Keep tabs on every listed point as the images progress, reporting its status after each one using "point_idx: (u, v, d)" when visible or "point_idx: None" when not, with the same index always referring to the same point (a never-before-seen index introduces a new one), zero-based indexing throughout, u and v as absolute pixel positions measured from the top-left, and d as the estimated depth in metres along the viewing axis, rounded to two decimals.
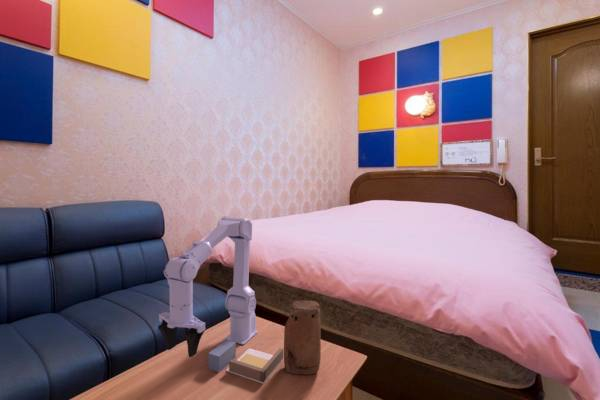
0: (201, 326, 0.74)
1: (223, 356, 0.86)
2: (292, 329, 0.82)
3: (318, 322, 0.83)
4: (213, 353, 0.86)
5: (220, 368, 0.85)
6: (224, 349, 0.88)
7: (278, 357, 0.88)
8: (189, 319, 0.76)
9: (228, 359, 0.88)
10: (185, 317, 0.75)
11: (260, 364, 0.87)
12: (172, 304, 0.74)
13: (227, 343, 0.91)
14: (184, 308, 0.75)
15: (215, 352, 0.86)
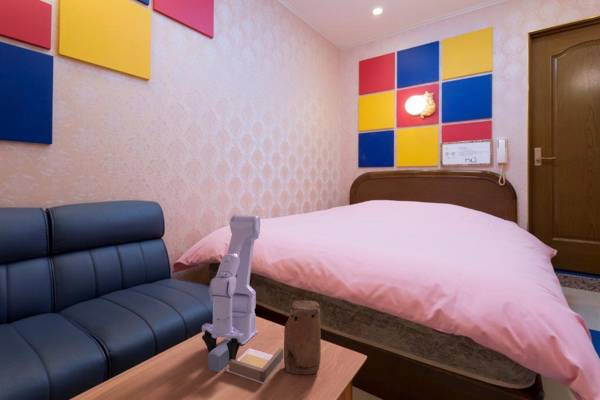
0: (241, 336, 0.85)
1: (223, 356, 0.86)
2: (292, 329, 0.82)
3: (318, 322, 0.83)
4: (213, 353, 0.86)
5: (220, 368, 0.85)
6: (223, 349, 0.88)
7: (278, 357, 0.88)
8: (230, 330, 0.87)
9: (228, 359, 0.88)
10: (226, 328, 0.86)
11: (260, 364, 0.87)
12: (217, 317, 0.85)
13: None
14: (226, 320, 0.86)
15: (215, 352, 0.86)
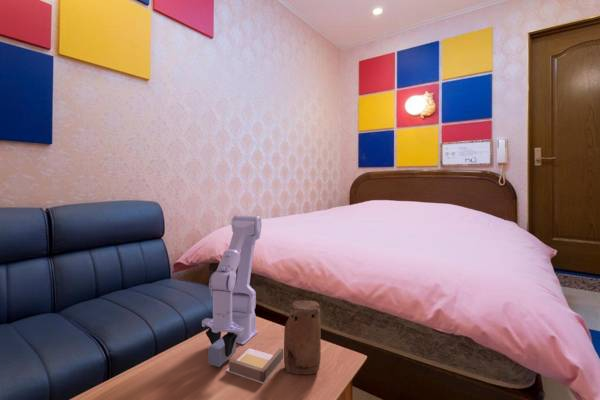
0: (241, 331, 0.85)
1: (223, 350, 0.86)
2: (292, 329, 0.82)
3: (318, 322, 0.83)
4: (213, 347, 0.86)
5: (220, 363, 0.85)
6: (223, 343, 0.88)
7: (278, 357, 0.88)
8: (230, 325, 0.87)
9: None
10: (226, 323, 0.86)
11: (260, 364, 0.87)
12: (217, 312, 0.85)
13: None
14: (226, 315, 0.86)
15: (215, 346, 0.86)
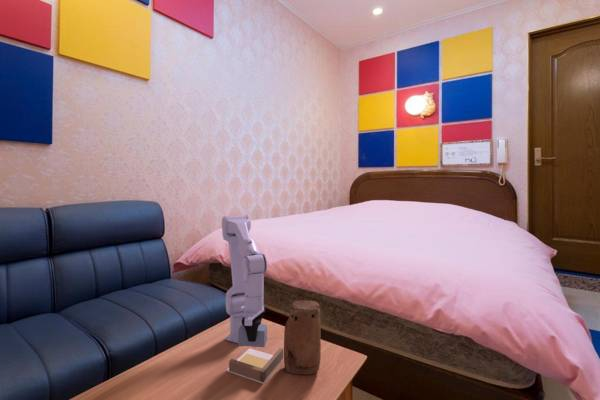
0: (246, 320, 0.81)
1: (244, 332, 0.86)
2: (292, 329, 0.82)
3: (318, 322, 0.83)
4: (242, 325, 0.89)
5: (240, 343, 0.87)
6: None
7: (278, 357, 0.88)
8: (251, 310, 0.85)
9: None
10: (247, 307, 0.85)
11: (260, 364, 0.87)
12: (256, 295, 0.85)
13: (261, 327, 0.88)
14: (247, 298, 0.85)
15: None
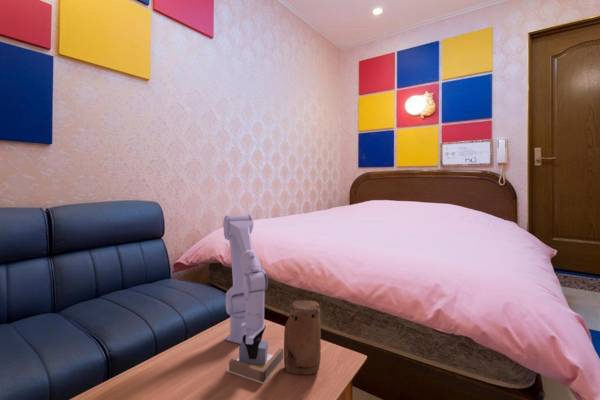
0: (247, 338, 0.81)
1: (244, 350, 0.87)
2: (292, 329, 0.82)
3: (318, 322, 0.83)
4: (243, 342, 0.90)
5: (241, 360, 0.87)
6: None
7: (278, 357, 0.88)
8: (252, 328, 0.85)
9: None
10: (248, 324, 0.86)
11: (260, 364, 0.87)
12: (257, 313, 0.85)
13: (262, 344, 0.89)
14: (248, 316, 0.86)
15: None
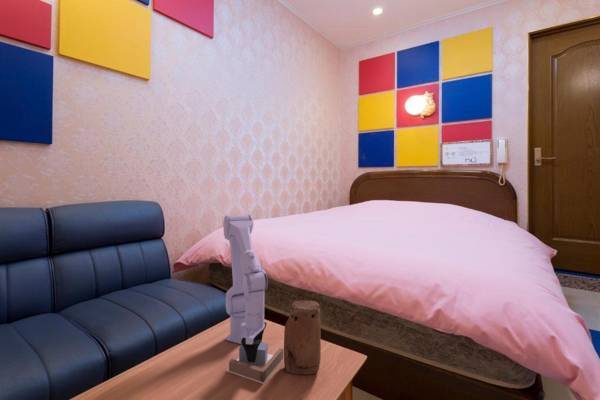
0: (247, 338, 0.81)
1: (244, 351, 0.87)
2: (292, 329, 0.82)
3: (318, 322, 0.83)
4: None
5: None
6: None
7: (278, 357, 0.88)
8: (252, 328, 0.85)
9: None
10: (248, 324, 0.86)
11: None
12: (257, 313, 0.85)
13: (262, 345, 0.89)
14: (248, 316, 0.86)
15: None
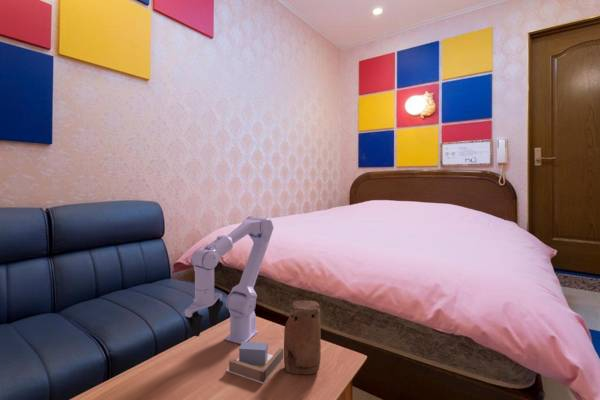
0: (186, 311, 0.83)
1: (244, 351, 0.87)
2: (292, 329, 0.82)
3: (318, 322, 0.83)
4: (243, 343, 0.90)
5: None
6: (251, 347, 0.88)
7: (278, 357, 0.88)
8: (198, 303, 0.87)
9: (253, 360, 0.87)
10: (195, 299, 0.88)
11: None
12: (196, 287, 0.87)
13: (262, 345, 0.89)
14: (195, 290, 0.88)
15: (244, 344, 0.89)
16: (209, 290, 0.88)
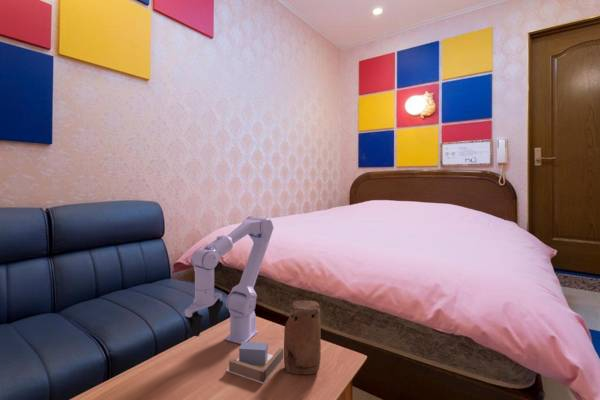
0: (186, 311, 0.83)
1: (244, 351, 0.87)
2: (292, 329, 0.82)
3: (318, 322, 0.83)
4: (243, 343, 0.90)
5: None
6: (251, 347, 0.88)
7: (278, 357, 0.88)
8: (198, 303, 0.87)
9: (253, 360, 0.87)
10: (195, 299, 0.88)
11: None
12: (196, 288, 0.87)
13: (262, 345, 0.89)
14: (195, 290, 0.88)
15: (244, 344, 0.89)
16: (209, 290, 0.88)
